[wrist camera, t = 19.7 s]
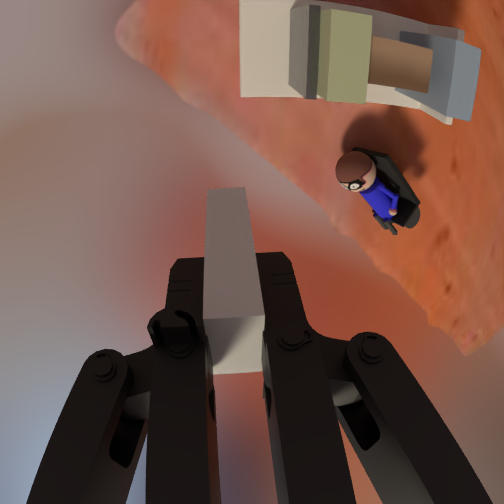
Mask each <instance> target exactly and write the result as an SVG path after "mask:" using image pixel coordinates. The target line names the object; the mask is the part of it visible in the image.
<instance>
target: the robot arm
mask: <svg viewBox="0 0 504 504" xmlns="http://www.w3.org/2000/svg"><path fill="white" fill-rule="evenodd" d="M167 292H168V293H167V297H166V305H165V308H164V309H163V310H161V311H159V312H157V313H156V314H155V315H154V316H153V317H152V318H151V319H150V321H149V324H148V326H147V329H148V332H149V334H150V337H151V339H152V342H153V345H152V346H150V347H149V348H147V349H145V350H142V351H140V352H136V353H133V354H130V355H126V356H123V355H122V354H121V353H120V352H117V351H115V350H113V349H103V350H100V351H96V352H95V353H93V354H92V355H90V356H89V357H88V359H87V360H86V361H85V363H84V364H83V366H82V368H81V371H80V372H79V375H78V377H77V379H76V381H75V383H74V385H73V387H72V389H71V392H70V394H69V396H68V398H67V400H66V403H65V405H64V407H63V409H62V412H61V414H60V416H59V418H58V421H57V423H56V425H55V428H54V430H53V433H52V435H51V438H50V440H49V442H48V445H47V447H46V450H45V453H44V455H43V458H42V461H41V463H40V466H39V468H38V471H37V474H36V477H35V479H34V483H33V485H32V488H31V491H30V494H29V497H28V500H27V503H26V504H126V500H127V497H128V494H129V490H130V487H131V484H132V480H133V477H134V474H135V470H136V467H137V464H138V461H139V457H140V454H141V451H142V448H143V445H144V442H145V438H146V435H147V434H148V435H147V455H146V504H221V492H220V478H219V462H218V445H217V427H216V405H215V390H214V385H213V374H228V373H245V372H257V371H262V369H263V377H264V386H263V398H265V405H266V413H267V421H268V429H269V437H270V445H271V453H272V460H273V467H274V476H275V484H276V491H277V499H278V504H356V500H355V495H354V490H353V485H352V480H351V476H350V471H349V467H348V462H347V458H346V453H345V449H344V444H343V440H342V436H341V431H340V427H339V423H338V420H339V422H340V424H341V426H342V428H343V430H344V432H345V434H346V435H347V437H348V439H349V441H350V443H351V445H352V447H353V449H354V450H355V452H356V454H357V456H358V458H359V460H360V462H361V463H362V465H363V467H364V469H365V471H366V473H367V475H368V477H369V478H370V480H371V482H372V484H373V486H374V487H375V490H376V492H377V493H378V495H379V497H380V499H381V501H382V503H383V504H493V503H492V501H491V500H490V498H489V496H488V494H487V493H486V491H485V489H484V487H483V485H482V483H481V482H480V480H479V478H478V477H477V475H476V473H475V472H474V470H473V468H472V466H471V465H470V463H469V462H468V460H467V458H466V456H465V455H464V453H463V452H462V450H461V448H460V447H459V445H458V443H457V442H456V440H455V438H454V437H453V436H452V434H451V432H450V431H449V429H448V427H447V426H446V424H445V423H444V421H443V420H442V418H441V417H440V415H439V413H438V412H437V410H436V409H435V407H434V406H433V404H432V403H431V401H430V400H429V398H428V397H427V395H426V394H425V392H424V391H423V389H422V388H421V386H420V385H419V384H418V382H417V380H416V379H415V377H414V376H413V374H412V373H411V371H410V370H409V369H408V367H407V366H406V364H405V363H404V361H403V360H402V359H401V357H400V356H399V354H398V353H397V351H396V350H395V348H394V347H393V346H392V344H391V343H390V342H389V341H388V340H387V339H386V338H385V337H383V336H382V335H379V334H377V333H373V332H363V333H359V334H357V335H355V336H354V337H352V339H351V340H350V341H345V340H338V339H333V338H329V337H325V336H323V335H321V334H319V333H317V332H316V331H315V330H314V329H312V327H311V326H310V325H309V324H308V321H307V319H306V315H305V312H304V308H303V304H302V300H301V296H300V293H299V289H298V285H297V282H296V278H295V275H294V271H293V267H292V263H291V261H290V260H289V259H288V258H287V257H286V255H285V254H284V253H283V252H268V253H255V248H254V242H253V235H252V229H251V223H250V216H249V210H248V203H247V197H246V190H245V188H244V187H243V188H223V189H208V191H207V211H206V231H205V256H204V257H198V258H181V259H177V261H176V262H175V263H174V265H173V266H172V268H171V269H170V275H169V283H168V289H167ZM147 432H148V433H147Z"/></svg>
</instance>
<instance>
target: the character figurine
mask: <svg viewBox="0 0 504 504" xmlns="http://www.w3.org/2000/svg"><path fill="white" fill-rule="evenodd" d="M336 177H337V179H338V181H339V183H340V184H341V185H342V186H343V187H344V188H346V189H348V190H350V191H354V192H359V193H360V194H361V195H362V196H363V197H364V198H365V200H366V201H367V202H368V203H369V204H370V206H371V207H372V208H373V210H372V212H373V213H374V214H373V216H374V218H375V219H376V220H377V221H378V222H379V224H380V225H381V226H382V227H383V228H384V229H387V230H388V228H389V230H390V231H391V232H392V234H393V235H397V230H396V229H395V227H394V226H393V225H392V224H391V223H396V224H398V225H400V226H402V227H404V226H405V227H407V228H413V227H414V226H415V225H416V224H417V223H418V221H419V218H420V209H419V207H418V205H419V204H420V201H419V200H418V198H417V196H416V195H415V193H414V192H413V190H412V189H411V187H410V186H409V184H408V183H407V181H406V180H405V178H404V177H403V175H402V174H401V172H400V171H399V169H398V168H397V166H396V165H395V163H394V162H393V161H392V159H391V158H390V156H389V155H388V154H384V153H379V152H375V151H370V150H366V149H361V148H356V147H354V148H353V150H352V152H348V153H346V154H344V155H343V156H342V157H341V158H340V159H339V160H338V162H337V165H336Z"/></svg>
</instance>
